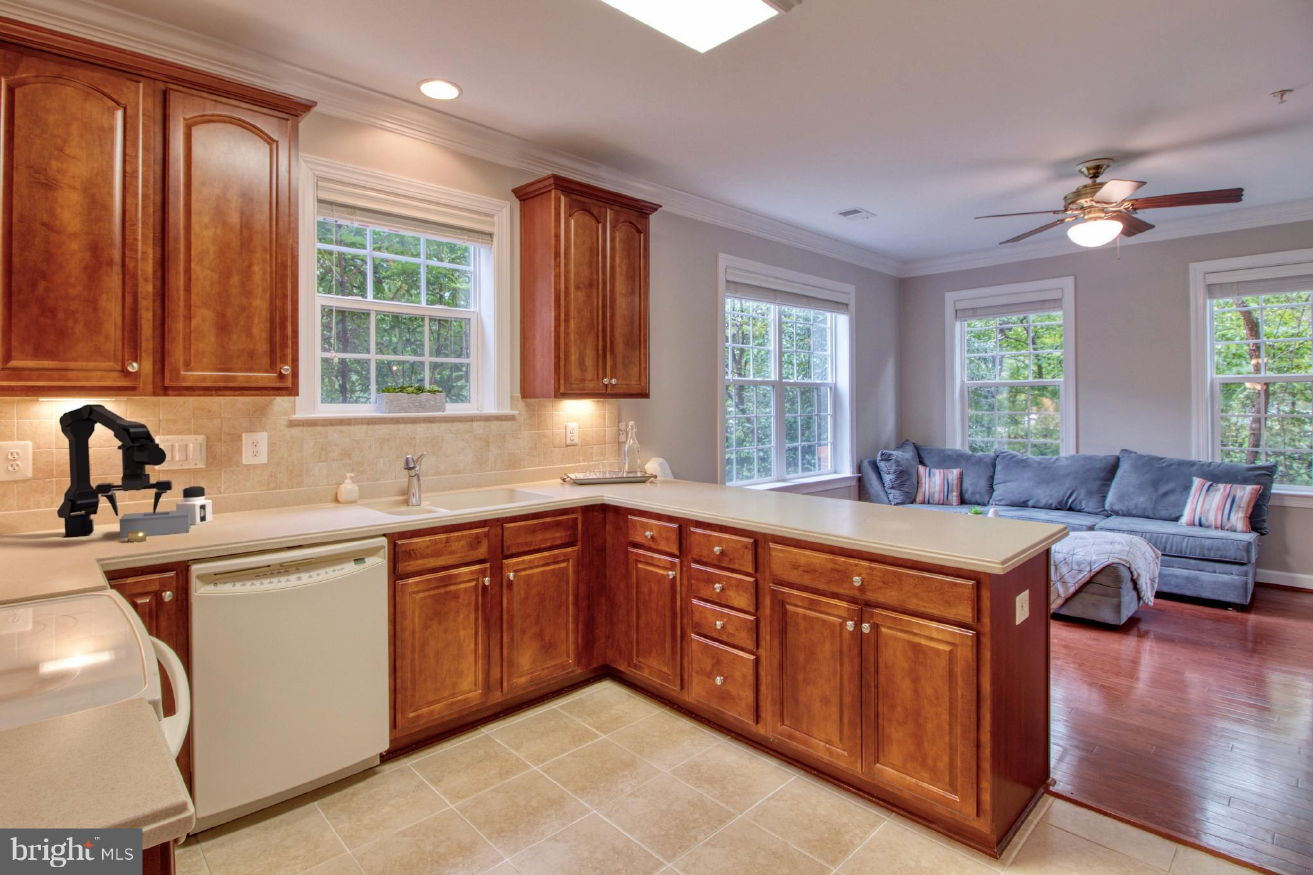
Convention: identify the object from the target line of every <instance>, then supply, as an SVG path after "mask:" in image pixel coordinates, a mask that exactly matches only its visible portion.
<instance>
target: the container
mask: <svg viewBox="0 0 1313 875" xmlns="http://www.w3.org/2000/svg"><path fill="white" fill-rule="evenodd" d="M182 500H183V501H179V502H176V503H175V510H190V524H191V525H190V526H198V525H203V524H206V522H207V523H211V522H213V502H212V500H210V499H206V490H205V486H202V485H201V486H200V485H199V486H198V485H193V486H192V485H191V486H186V487H183V488H182ZM197 524H198V525H197Z"/></svg>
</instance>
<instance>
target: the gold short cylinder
mask: <svg viewBox="0 0 1313 875" xmlns="http://www.w3.org/2000/svg"><path fill="white" fill-rule="evenodd" d="M146 541H147V536H146V531H132V532H128V538H127V543H128V542H130V544H132V543H133V544H135V543H134V542H137V543H143V542H146Z"/></svg>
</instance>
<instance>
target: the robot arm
mask: <svg viewBox="0 0 1313 875" xmlns="http://www.w3.org/2000/svg"><path fill="white" fill-rule="evenodd" d="M58 422H59V425H60V430H61V433H62V434H63V435H64V437H66V439H67V441H68V453H69V454H68V455H69V457H68V459H69V478H70V480H69V481H70V482H69V483H70V485H69V487H68V488H67V490H66V491H65V492H64V495H63V496H64V498H63V502H62V503H61V505H60V506H59V508H58V509H57V511H56V513H57V516H58V518H60V519H64V535H63V537H64V538H72V537H82V536H83V537H86V536H91V535H92V534H93V533H94V532H95V524H94V523H95V522H94V521H95V520H94V519H93V518H92V516H93V515H97V514H98V508H99V507H100V506H99V504H100V497H101V498H105V499H106V500H107V502H108V503H109V504H110V506H111V508H112V510H113V513H114V515H115V516H116V517H118V516H119V507H118V506H119V505H118V501H117V495H116V492H117V491H119V492H121V491H123V492H129V491H136V492H137V491H139V492H140V491H142V490H153V489H154V490H155V492H154V499H153V507H152V512H153V514H155V512H157V509H158V506H159V503H160V500H161V497H162V496H163V494H167V493H168V491H172V489H173V481H172V480H171V479H162V480H156V481H155V482H152V483H151V476H150V475H151V474H150V473H147V472H146V471H147V470H146V469H147V468H146V466H153V467H159V466H161V465H162V464H164V463H165V461H166V460H167V453H166V452H165V450H164V449H163V448H162V447H160V443H156V439H155V438H154V437H153V435H152V433H151V431H150V429H149V427H147V425H146V424H145V423H142V422H139V421H132V420H128V419H125V418H124V417H122V416H121V415H118V414H116V413H114V411H112V410H110V409H108V408H106V406H105V405H103V404H98V403H97V404H95V403H94V404H91V403H89V404H85V405H82V406H81V407H78V408H76V409H72V410H70V411H67V412H64V413H63V414H62V415H61V416H60V418H59V421H58ZM97 424H100V425H101V426H103V427H105V428H106V429H108V430H110V431H111V432H113V437H114V438H115V439H116V440H118V442H120V443H121V444H120V445H118V446H117V450H119V451H120V450H121V463H122V466H121V467H122V476H121V479H120V480H121V484H115V483H114V482H100V483H98V484H96V485H95V487H93V485H92V484H91V468H90V467H91V464H90V444H89V443H90V442H89V440H90V438H91V437H92V435H93V434H94V432H95V430H96V429H95V427H96V425H97ZM99 495H100V496H99Z"/></svg>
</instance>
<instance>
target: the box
mask: <svg viewBox="0 0 1313 875" xmlns="http://www.w3.org/2000/svg"><path fill="white" fill-rule="evenodd" d="M189 529H191V525H190V510H176V509H175V510H163V511H156V512H155V514H153V511H151V512H150V511H149V512H136V513H135V512H134V513H123V515H122V516H121V517H120V519H119V539H126V538H127V539H128V532H132V531H146V537H152V536H154V537H155V536H164V535H174V533H178V534H188V533H190V530H189Z"/></svg>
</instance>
